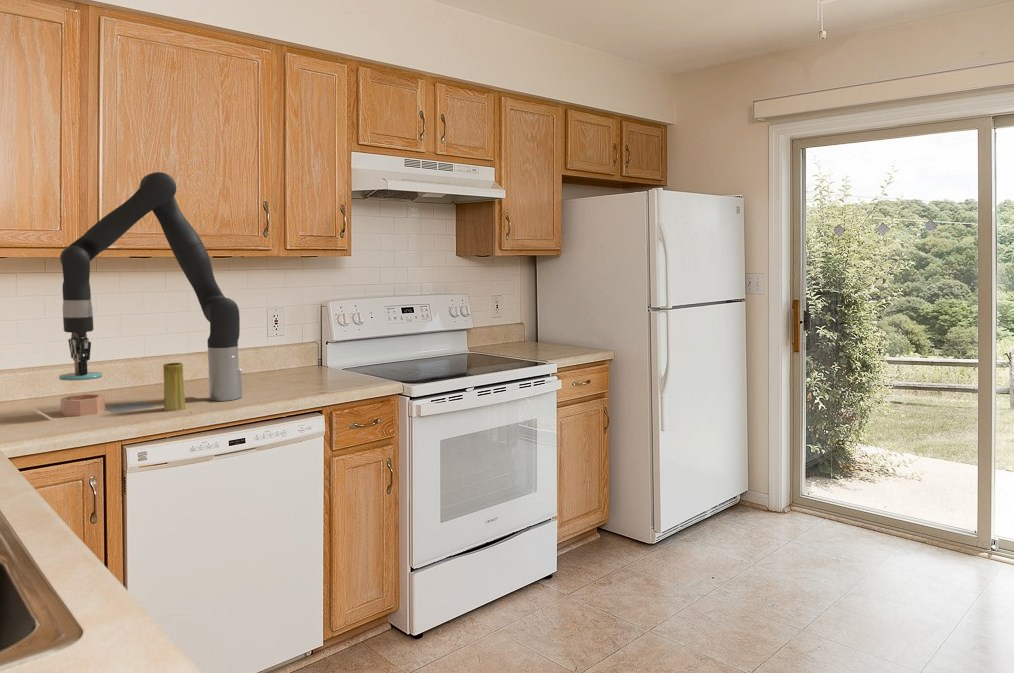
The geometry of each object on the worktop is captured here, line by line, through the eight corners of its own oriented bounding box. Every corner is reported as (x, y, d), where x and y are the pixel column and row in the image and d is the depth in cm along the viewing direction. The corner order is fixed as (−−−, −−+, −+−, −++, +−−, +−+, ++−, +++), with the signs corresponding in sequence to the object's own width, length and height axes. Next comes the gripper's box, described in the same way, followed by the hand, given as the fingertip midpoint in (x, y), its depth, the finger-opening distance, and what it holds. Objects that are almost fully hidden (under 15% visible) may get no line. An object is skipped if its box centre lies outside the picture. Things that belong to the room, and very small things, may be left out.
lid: (95, 373, 222) (94, 354, 222) (107, 377, 215) (106, 358, 214) (54, 377, 214) (53, 357, 214) (65, 381, 207) (64, 361, 206)
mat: (142, 403, 232) (142, 401, 232) (156, 408, 224) (156, 406, 223) (100, 408, 224) (100, 406, 223) (113, 414, 215) (113, 412, 215)
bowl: (97, 408, 223) (96, 392, 223) (108, 414, 216) (107, 397, 215) (58, 413, 216) (57, 397, 215) (68, 419, 208) (67, 402, 208)
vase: (189, 408, 224) (187, 362, 222) (181, 412, 218) (178, 365, 216) (169, 408, 224) (166, 362, 222) (160, 412, 218) (158, 365, 216)
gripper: (99, 316, 210) (102, 375, 212) (85, 313, 220) (88, 370, 222) (70, 317, 205) (73, 378, 207) (56, 314, 215) (60, 372, 217)
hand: (81, 373), depth 214 cm, fingers closed on lid, 3 cm apart
